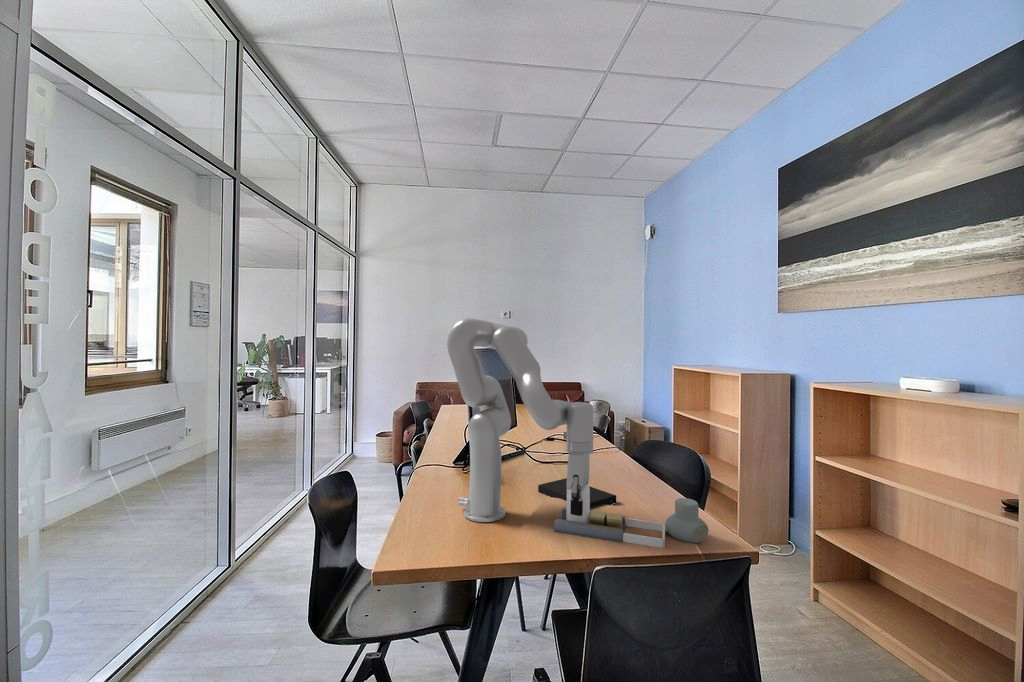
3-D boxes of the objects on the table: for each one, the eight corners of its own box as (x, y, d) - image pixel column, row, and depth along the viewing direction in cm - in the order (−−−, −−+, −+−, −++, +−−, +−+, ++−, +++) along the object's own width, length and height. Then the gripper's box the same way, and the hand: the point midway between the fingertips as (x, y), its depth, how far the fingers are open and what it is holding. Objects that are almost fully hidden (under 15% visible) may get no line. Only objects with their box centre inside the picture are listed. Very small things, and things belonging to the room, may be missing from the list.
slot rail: (553, 535, 116) (553, 522, 116) (564, 517, 129) (564, 506, 129) (621, 546, 110) (621, 532, 110) (625, 527, 123) (625, 514, 123)
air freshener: (685, 529, 122) (685, 493, 122) (712, 540, 115) (712, 502, 115) (660, 537, 116) (660, 500, 117) (687, 549, 109) (687, 510, 110)
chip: (606, 533, 116) (606, 518, 116) (605, 527, 120) (606, 513, 120) (621, 534, 115) (622, 519, 115) (620, 528, 119) (620, 514, 119)
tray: (623, 545, 111) (623, 533, 111) (626, 528, 122) (626, 517, 122) (664, 552, 108) (664, 540, 108) (664, 534, 118) (664, 523, 118)
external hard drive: (566, 486, 160) (566, 478, 160) (616, 504, 142) (616, 495, 142) (538, 493, 152) (538, 484, 152) (587, 513, 133) (587, 504, 133)
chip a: (589, 530, 118) (589, 515, 118) (591, 524, 121) (591, 510, 121) (604, 532, 116) (604, 517, 116) (606, 527, 120) (606, 512, 120)
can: (576, 518, 125) (576, 476, 125) (594, 525, 120) (594, 482, 121) (561, 524, 121) (562, 481, 121) (579, 531, 116) (580, 487, 116)
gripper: (572, 439, 130) (572, 498, 130) (559, 451, 114) (558, 519, 114) (597, 441, 128) (596, 502, 128) (587, 454, 112) (587, 523, 111)
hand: (578, 509), depth 121 cm, fingers closed on can, 6 cm apart
